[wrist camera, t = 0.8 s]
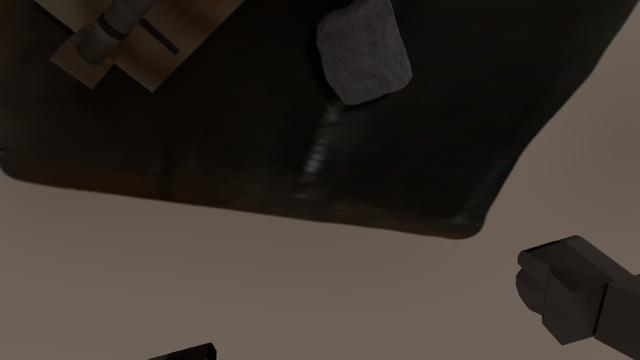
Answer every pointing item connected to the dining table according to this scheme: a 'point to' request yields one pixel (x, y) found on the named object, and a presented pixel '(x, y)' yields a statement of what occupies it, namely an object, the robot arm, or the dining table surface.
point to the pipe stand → (132, 35)
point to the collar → (213, 3)
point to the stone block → (363, 51)
